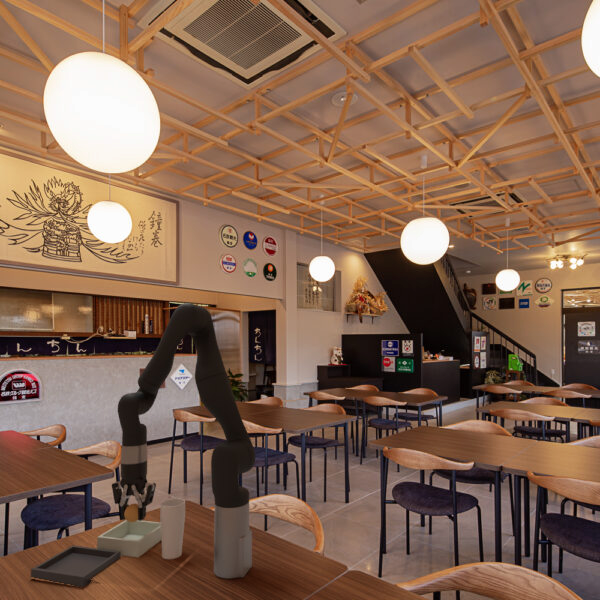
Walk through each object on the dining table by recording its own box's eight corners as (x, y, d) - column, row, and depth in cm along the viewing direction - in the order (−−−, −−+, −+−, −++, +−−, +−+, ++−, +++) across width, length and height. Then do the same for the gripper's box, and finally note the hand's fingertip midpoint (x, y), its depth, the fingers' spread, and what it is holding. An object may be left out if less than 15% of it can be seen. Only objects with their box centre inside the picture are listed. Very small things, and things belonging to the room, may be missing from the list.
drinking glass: (158, 565, 118) (160, 507, 120) (159, 554, 124) (161, 499, 126) (184, 562, 120) (185, 505, 121) (184, 551, 126) (185, 497, 128)
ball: (145, 519, 131) (145, 501, 132) (135, 525, 126) (135, 507, 127) (131, 518, 132) (131, 500, 133) (120, 524, 127) (120, 506, 128)
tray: (120, 561, 121) (120, 551, 121) (82, 588, 107) (83, 577, 108) (72, 554, 125) (72, 545, 125) (30, 579, 111) (31, 569, 112)
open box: (165, 540, 134) (165, 523, 134) (138, 561, 121) (138, 542, 121) (127, 535, 137) (127, 518, 138) (96, 555, 124) (97, 536, 125)
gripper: (162, 457, 133) (161, 516, 131) (121, 456, 137) (120, 513, 135) (147, 463, 126) (147, 525, 124) (105, 462, 129) (103, 522, 127)
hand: (133, 518), depth 129 cm, fingers closed on ball, 5 cm apart
